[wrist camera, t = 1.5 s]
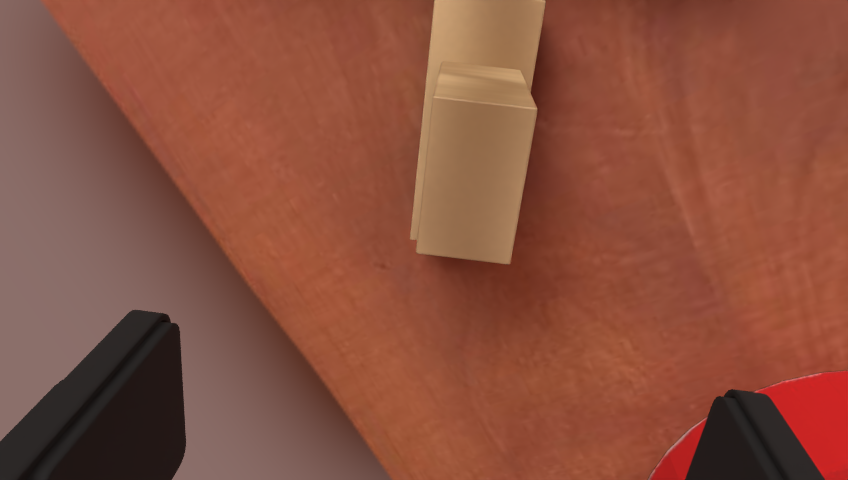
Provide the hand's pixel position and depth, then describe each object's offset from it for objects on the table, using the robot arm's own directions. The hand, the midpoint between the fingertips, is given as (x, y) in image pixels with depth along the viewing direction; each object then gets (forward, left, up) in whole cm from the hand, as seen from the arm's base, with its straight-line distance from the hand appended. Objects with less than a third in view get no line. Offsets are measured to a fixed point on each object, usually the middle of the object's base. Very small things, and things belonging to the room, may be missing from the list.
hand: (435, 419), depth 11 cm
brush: (+1, +1, -18) cm, 18 cm away
